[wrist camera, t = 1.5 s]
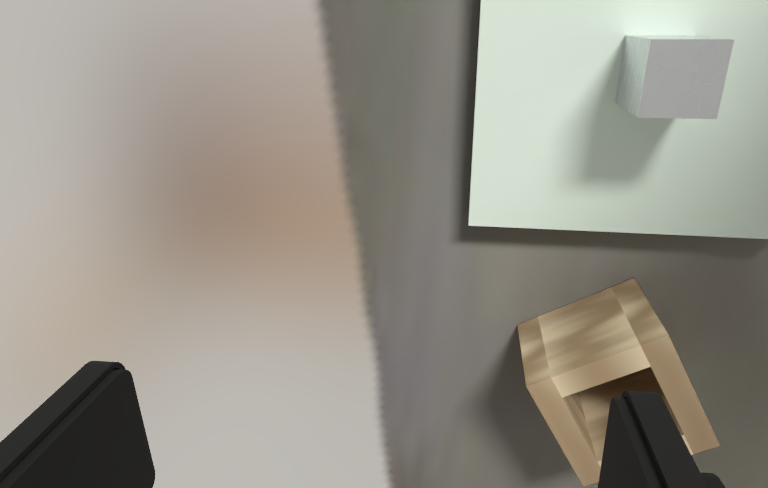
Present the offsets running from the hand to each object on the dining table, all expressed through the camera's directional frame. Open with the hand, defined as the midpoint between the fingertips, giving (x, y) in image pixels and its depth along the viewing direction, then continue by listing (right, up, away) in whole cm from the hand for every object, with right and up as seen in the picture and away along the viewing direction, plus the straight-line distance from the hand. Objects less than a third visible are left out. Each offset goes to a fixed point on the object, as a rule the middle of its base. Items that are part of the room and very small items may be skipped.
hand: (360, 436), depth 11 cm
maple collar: (+13, -3, +22) cm, 26 cm away
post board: (+13, +12, +16) cm, 24 cm away
